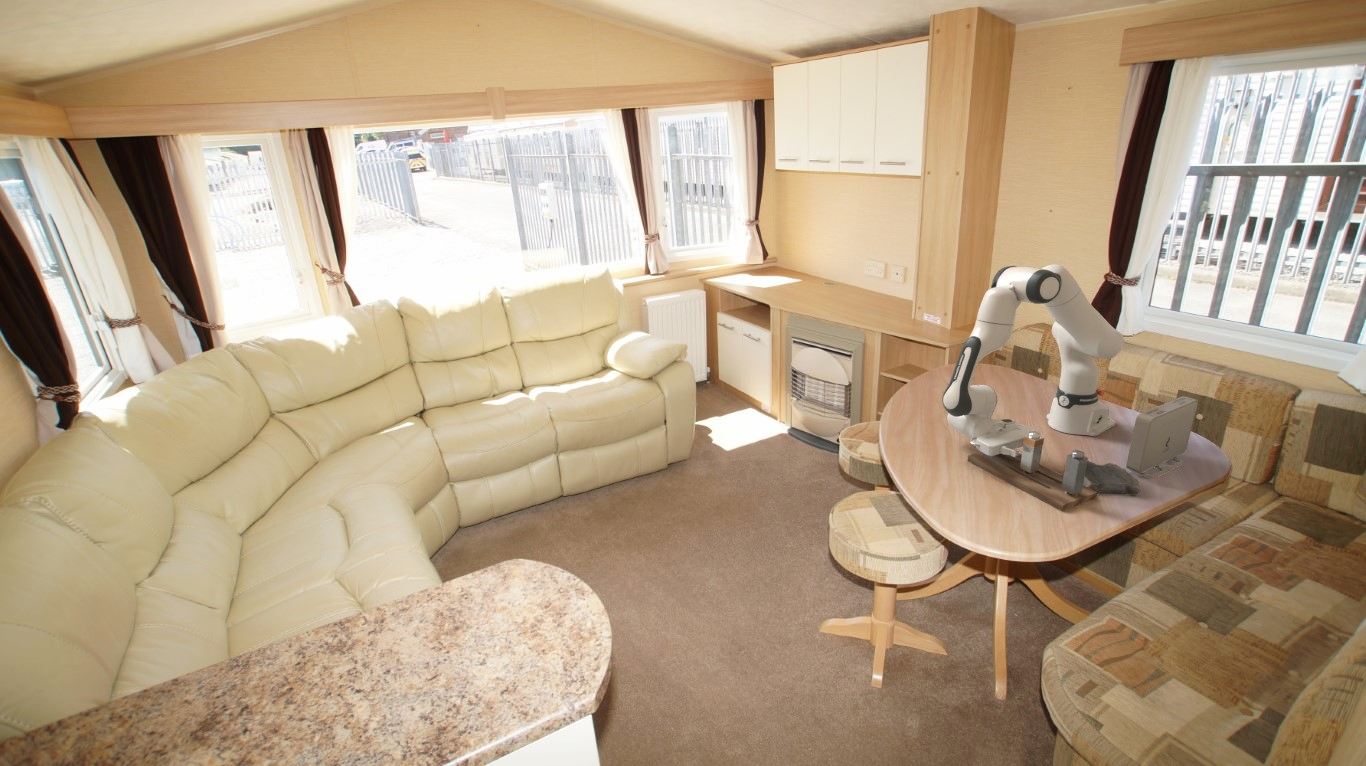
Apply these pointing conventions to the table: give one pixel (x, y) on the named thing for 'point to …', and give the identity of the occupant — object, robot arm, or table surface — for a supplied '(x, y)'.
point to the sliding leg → (1031, 452)
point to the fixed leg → (1074, 472)
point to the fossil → (1110, 479)
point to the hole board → (1032, 480)
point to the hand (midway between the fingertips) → (1028, 450)
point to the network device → (1161, 436)
